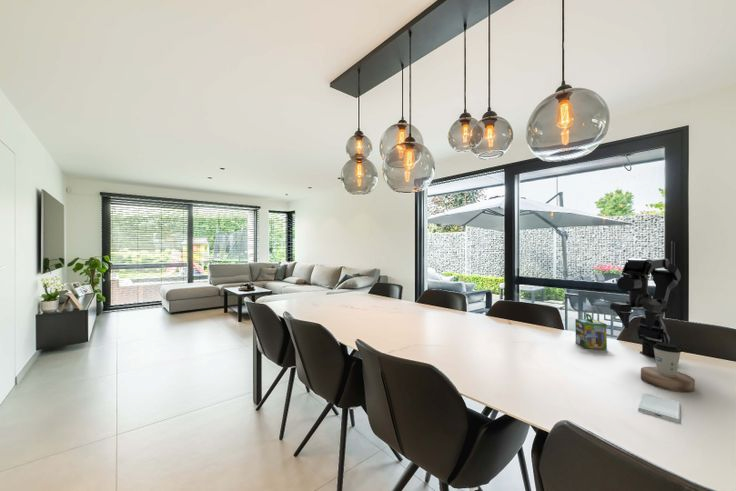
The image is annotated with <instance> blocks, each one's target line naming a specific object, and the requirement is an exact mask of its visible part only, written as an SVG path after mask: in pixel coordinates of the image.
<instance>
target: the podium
mask: <svg viewBox="0 0 736 491" xmlns="http://www.w3.org/2000/svg"><path fill="white" fill-rule="evenodd" d="M640 380H642V381H643V382H644V383H647V385H651V386H654V387H657V388H659V389H662V390H666V391H671V392H677V393H692V392H694V391H695V390H696V388H695V385H696V384H695V382H696V380H695V378H693V377H692V376H690V375H688V374H686V373H684V372H681V371H677V374H676V377H668V376H664V375H661V374H659V373H657V367H656V366H642V367H641V368H640Z"/></svg>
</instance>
